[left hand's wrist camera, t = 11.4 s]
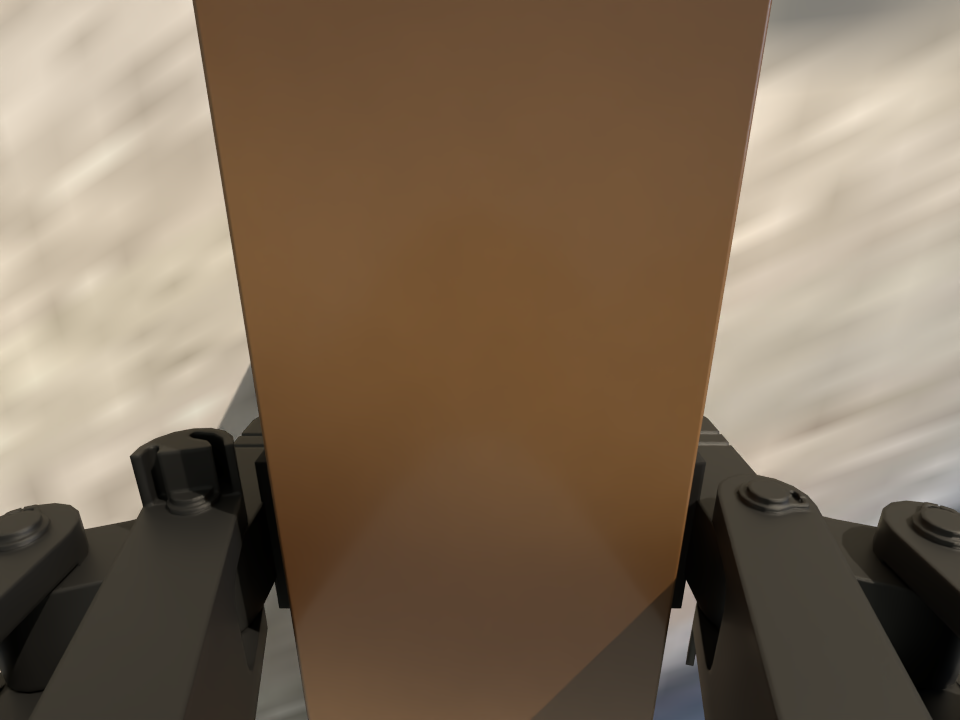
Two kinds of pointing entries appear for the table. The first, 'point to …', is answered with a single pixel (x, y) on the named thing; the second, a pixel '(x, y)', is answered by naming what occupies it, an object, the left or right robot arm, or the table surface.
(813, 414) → the table surface
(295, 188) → the bar
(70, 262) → the table surface
